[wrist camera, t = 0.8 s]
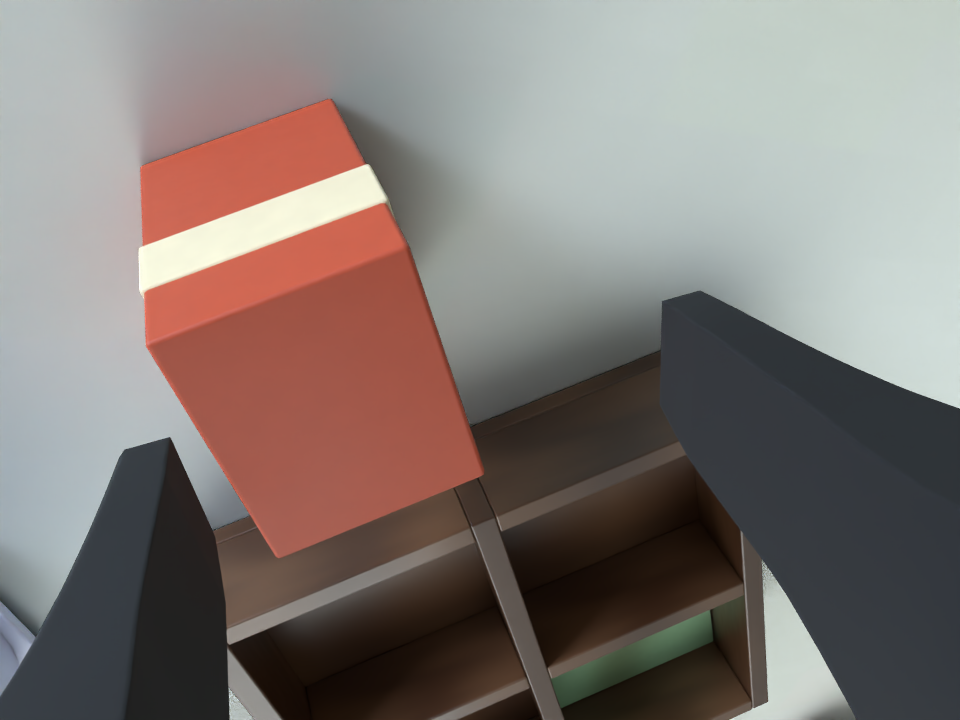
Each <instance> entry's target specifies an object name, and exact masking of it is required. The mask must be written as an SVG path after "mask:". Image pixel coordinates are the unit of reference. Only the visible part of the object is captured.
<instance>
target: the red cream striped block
mask: <svg viewBox="0 0 960 720" xmlns="http://www.w3.org/2000/svg"><path fill="white" fill-rule="evenodd" d="M140 172H141V205H142V237H143V246H142V247H141V248H139V290H140V294H141V296H142V297H143V299H144V302H145V334H146V347H147V349H148V350H149V352H150V354H151V355H152V357H153V358H154V360H155V362H156V363H157V365H158V367H159V368H160V370H161V371H162V373H163V375H164V376H165V378H166V379H167V381H168V383H169V384H170V386H171V388H172V389H173V391H174V392H175V394H176V396H177V397H178V399H179V401H180V402H181V404H182V405H183V407H184V409H185V410H186V412H187V414H188V415H189V417H190V418H191V420H192V422H193V423H194V425H195V427H196V428H197V430H198V431H199V433H200V435H201V436H202V438H203V440H204V441H205V443H206V444H207V446H208V448H209V449H210V451H211V452H212V454H213V456H214V457H215V459H216V461H217V462H218V464H219V465H220V467H221V469H222V470H223V472H224V474H225V475H226V477H227V478H228V480H229V482H230V483H231V485H232V487H233V488H234V490H235V491H236V493H237V495H238V496H239V498H240V500H241V501H242V503H243V504H244V506H245V508H246V509H247V511H248V513H249V514H250V516H251V517H252V519H253V521H254V522H255V524H256V525H257V527H258V529H259V530H260V532H261V534H262V535H263V537H264V538H265V540H266V542H267V543H268V545H269V547H270V548H271V550H272V551H273V553H274V555H275V556H276V557H277V558H282V557H285V556H287V555H290V554H292V553H295V552H297V551H299V550H302V549H304V548H307V547H309V546H312V545H314V544H317V543H319V542H321V541H324V540H326V539H329V538H331V537H334V536H336V535H339V534H341V533H343V532H346V531H348V530H351V529H353V528H356V527H358V526H361V525H363V524H365V523H368V522H370V521H373V520H375V519H378V518H380V517H383V516H385V515H387V514H390V513H392V512H395V511H397V510H400V509H402V508H405V507H407V506H409V505H412V504H414V503H417V502H419V501H422V500H424V499H427V498H429V497H431V496H434V495H436V494H439V493H441V492H444V491H446V490H449V489H451V488H453V487H456V486H458V485H461V484H463V483H466V482H468V481H471V480H473V479H475V478H478V477H480V476H482V475H484V467H483V464H482V461H481V458H480V455H479V452H478V449H477V446H476V443H475V440H474V437H473V434H472V431H471V428H470V425H469V422H468V419H467V416H466V413H465V410H464V407H463V404H462V402H461V399H460V396H459V393H458V390H457V387H456V384H455V381H454V378H453V375H452V372H451V369H450V366H449V363H448V360H447V357H446V354H445V351H444V348H443V345H442V342H441V339H440V336H439V333H438V330H437V327H436V324H435V321H434V318H433V315H432V312H431V309H430V306H429V303H428V300H427V297H426V295H425V292H424V289H423V286H422V283H421V280H420V277H419V274H418V271H417V268H416V265H415V262H414V259H413V256H412V253H411V250H410V247H409V245H408V243H407V241H406V239H405V237H404V235H403V233H402V231H401V230H400V228H399V226H398V224H397V222H396V219H395V216H394V214H393V211H392V208H391V205H390V202H389V199H388V197H387V195H386V193H385V192H384V190H383V188H382V186H381V184H380V182H379V180H378V178H377V176H376V175H375V173H374V171H373V169H372V167H371V166H370V165H369V164H366V162H365V160H364V158H363V157H362V155H361V153H360V151H359V149H358V147H357V145H356V143H355V141H354V139H353V137H352V135H351V134H350V132H349V130H348V128H347V126H346V124H345V122H344V120H343V118H342V116H341V114H340V112H339V110H338V109H337V107H336V105H335V103H334V101H333V100H332V99H327V100H324V101H321V102H318V103H316V104H313V105H310V106H307V107H304V108H302V109H299V110H296V111H293V112H290V113H288V114H285V115H282V116H279V117H277V118H274V119H271V120H268V121H265V122H263V123H260V124H257V125H254V126H251V127H249V128H246V129H243V130H240V131H237V132H235V133H232V134H229V135H226V136H223V137H221V138H218V139H215V140H212V141H210V142H207V143H204V144H201V145H198V146H196V147H193V148H190V149H187V150H184V151H182V152H179V153H176V154H173V155H170V156H168V157H165V158H162V159H159V160H157V161H154V162H151V163H148V164H145V165H143V166H142V167H140Z"/></svg>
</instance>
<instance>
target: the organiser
mask: <svg viewBox="0 0 960 720" xmlns="http://www.w3.org/2000/svg"><path fill="white" fill-rule="evenodd" d="M660 367H661V351H659V352H656V353H654V354H651V355H649V356H646V357H644V358H641V359H639V360H636V361H634V362H631V363H629V364H626V365H624V366H621V367H619V368H616V369H614V370H611V371H609V372H606V373H604V374H601V375H599V376H596V377H594V378H591V379H589V380H587V381H584V382H582V383H579V384H577V385H574V386H572V387H569V388H567V389H564V390H562V391H559V392H557V393H554V394H552V395H549V396H547V397H544V398H542V399H539V400H537V401H534V402H532V403H529V404H527V405H524V406H522V407H519V408H517V409H515V410H512V411H510V412H507V413H505V414H502V415H500V416H497V417H495V418H492V419H490V420H487V421H485V422H482V423H480V424H477V425H475V426H472V427H470V428H471V431H472V434H473V437H474V440H475V443H476V446H477V449H478V452H479V455H480V458H481V461H482V464H483V467H484V475H482V476H480V477H478V478H475V479H473V480H471V481H468V482H466V483H463V484H461V485H458V486H456V487H453V488H451V489H449V490H446V491H444V492H441V493H439V494H436V495H434V496H431V497H429V498H427V499H424V500H422V501H419V502H417V503H414V504H412V505H409V506H407V507H405V508H402V509H400V510H397V511H395V512H392V513H390V514H387V515H385V516H383V517H380V518H378V519H375V520H373V521H370V522H368V523H365V524H363V525H361V526H358V527H356V528H353V529H351V530H348V531H346V532H343V533H341V534H339V535H336V536H334V537H331V538H329V539H326V540H324V541H321V542H319V543H317V544H314V545H312V546H309V547H307V548H304V549H302V550H299V551H297V552H295V553H292V554H290V555H287V556H285V557H282V558H277V557H276V556H275V555H274V553H273V551H272V550H271V548H270V547H269V545H268V543H267V542H266V540H265V538H264V537H263V535H262V534H261V532H260V530H259V529H258V527H257V525H256V524H255V522H254V521H253V519H252V517H251V516H249V517H246V518H244V519H241V520H239V521H236V522H234V523H231V524H229V525H227V526H224V527H222V528H219V529H217V530H214V531H213V533H214V535H215V538H216V544H217V550H218V556H219V562H220V568H221V575H222V581H223V588H224V595H225V601H226V624H227V654H228V687H229V688H230V690H231V691H232V692H233V693H234V695H235V696H236V697H237V698H238V700H239V701H240V702H241V703H242V705H243V706H244V707H245V708H246V710H247V711H248V712H249V713H250V715H251V716H252V717H253V718H254V720H729V719H732V718H734V717H736V716H738V715H740V714H743V713H745V712H747V711H749V710H751V709H752V708H755V707H758V706H760V705H762V704H764V703H767V702H768V690H767V668H766V646H765V624H764V601H763V579H762V559H761V557H760V556H759V555H758V553H757V552H756V550H755V549H754V548H753V546H752V545H751V544H750V542H749V541H748V540H747V538H746V537H745V536H744V534H743V533H742V531H741V530H740V529H739V527H738V526H737V525H736V523H735V522H734V521H733V519H732V518H731V517H730V515H729V514H728V512H727V511H726V510H725V508H724V507H723V506H722V504H721V503H720V502H719V500H718V499H717V498H716V496H715V495H714V493H713V492H712V491H711V489H710V488H709V486H708V485H707V484H706V482H705V481H704V480H703V478H702V477H701V475H700V474H699V473H698V471H697V470H696V468H695V467H694V466H693V464H692V463H691V461H690V460H689V458H688V457H687V455H686V453H685V451H684V449H683V448H682V446H681V444H680V442H679V440H678V439H677V437H676V435H675V433H674V431H673V429H672V427H671V425H670V424H669V422H668V420H667V418H666V416H665V414H664V412H663V410H662V408H661V406H660Z"/></svg>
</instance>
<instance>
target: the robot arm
mask: <svg viewBox="0 0 960 720" xmlns="http://www.w3.org/2000/svg"><path fill="white" fill-rule="evenodd" d="M660 406H661V408H662V410H663V412H664V414H665V416H666V418H667V420H668V422H669V424H670V425H671V427H672V429H673V431H674V433H675V435H676V437H677V439H678V440H679V442H680V444H681V446H682V448H683V449H684V451H685V453H686V455H687V457H688V458H689V460H690V461H691V463H692V464H693V466H694V467H695V468H696V470H697V471H698V473H699V474H700V475H701V477H702V478H703V480H704V481H705V482H706V484H707V485H708V486H709V488H710V489H711V491H712V492H713V493H714V495H715V496H716V498H717V499H718V500H719V502H720V503H721V504H722V506H723V507H724V508H725V510H726V511H727V512H728V514H729V515H730V517H731V518H732V519H733V521H734V522H735V523H736V525H737V526H738V527H739V529H740V530H741V531H742V533H743V534H744V536H745V537H746V538H747V540H748V541H749V542H750V544H751V545H752V546H753V548H754V549H755V550H756V552H757V553H758V555H759V556H760V557H761V559H762V560H763V561H764V563H765V564H766V565H767V567H768V568H769V569H770V571H771V572H772V574H773V575H774V577H775V578H776V580H777V581H778V583H779V584H780V586H781V587H782V589H783V590H784V592H785V593H786V595H787V596H788V598H789V600H790V601H791V603H792V605H793V607H794V608H795V610H796V612H797V613H798V615H799V617H800V619H801V620H802V622H803V624H804V625H805V627H806V629H807V631H808V632H809V634H810V636H811V637H812V639H813V641H814V643H815V644H816V646H817V648H818V649H819V651H820V653H821V655H822V657H823V659H824V660H825V662H826V664H827V666H828V668H829V669H830V671H831V673H832V675H833V677H834V678H835V680H836V682H837V684H838V686H839V688H840V689H841V691H842V693H843V695H844V697H845V698H846V700H847V702H848V704H849V706H850V708H851V710H852V711H853V713H854V715H855V717H856V719H857V720H960V409H959V408H956V407H953V406H951V405H948V404H945V403H942V402H939V401H936V400H934V399H931V398H928V397H925V396H922V395H919V394H917V393H914V392H912V391H909V390H906V389H904V388H901V387H899V386H896V385H894V384H891V383H889V382H887V381H884V380H882V379H880V378H877V377H875V376H873V375H871V374H868V373H866V372H864V371H861V370H859V369H857V368H854V367H852V366H850V365H848V364H846V363H843V362H841V361H839V360H837V359H835V358H833V357H830V356H828V355H826V354H824V353H822V352H820V351H818V350H816V349H814V348H812V347H810V346H808V345H806V344H804V343H802V342H800V341H798V340H796V339H794V338H792V337H790V336H788V335H786V334H784V333H782V332H780V331H778V330H776V329H774V328H772V327H770V326H769V325H767V324H765V323H763V322H761V321H759V320H757V319H755V318H753V317H751V316H749V315H747V314H745V313H744V312H742V311H740V310H738V309H736V308H734V307H732V306H730V305H728V304H726V303H724V302H722V301H720V300H718V299H716V298H714V297H712V296H710V295H708V294H706V293H704V292H702V291H697V292H693V293H690V294H686V295H682V296H679V297H675V298H672V299H668V300H664V301H662V323H661V367H660ZM0 720H229V689H228V654H227V624H226V601H225V595H224V588H223V581H222V575H221V568H220V562H219V556H218V550H217V544H216V538H215V535H214V533H213V531H212V528H211V526H210V524H209V522H208V519H207V517H206V515H205V513H204V511H203V508H202V506H201V504H200V502H199V500H198V497H197V495H196V493H195V491H194V489H193V486H192V484H191V482H190V480H189V478H188V475H187V473H186V471H185V469H184V466H183V464H182V462H181V460H180V458H179V455H178V453H177V451H176V449H175V447H174V444H173V442H172V440H171V438H170V437H169V438H165V439H162V440H158V441H154V442H151V443H147V444H143V445H140V446H136V447H133V448H129V449H125V450H124V451H123V453H122V454H121V456H120V457H119V459H118V462H117V464H116V467H115V470H114V472H113V475H112V477H111V480H110V482H109V485H108V487H107V490H106V492H105V495H104V497H103V500H102V502H101V504H100V507H99V509H98V511H97V514H96V516H95V518H94V521H93V523H92V525H91V528H90V530H89V532H88V535H87V537H86V539H85V541H84V543H83V545H82V547H81V549H80V552H79V554H78V556H77V558H76V560H75V562H74V564H73V567H72V569H71V571H70V573H69V575H68V577H67V579H66V581H65V583H64V585H63V587H62V589H61V591H60V593H59V595H58V597H57V599H56V601H55V602H54V604H53V606H52V608H51V610H50V612H49V614H48V615H47V617H46V619H45V621H44V623H43V625H42V627H41V628H40V630H39V632H38V634H37V636H36V637H35V636H34V635H33V634H32V633H31V632H30V631H29V630H28V629H27V628H26V627H25V626H24V625H23V624H22V623H21V622H20V621H19V620H18V619H17V618H16V617H15V616H14V615H13V614H12V613H11V612H10V611H9V609H8V608H7V607H6V606H5V605H4V604H3V603H2V602H1V601H0Z"/></svg>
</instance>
